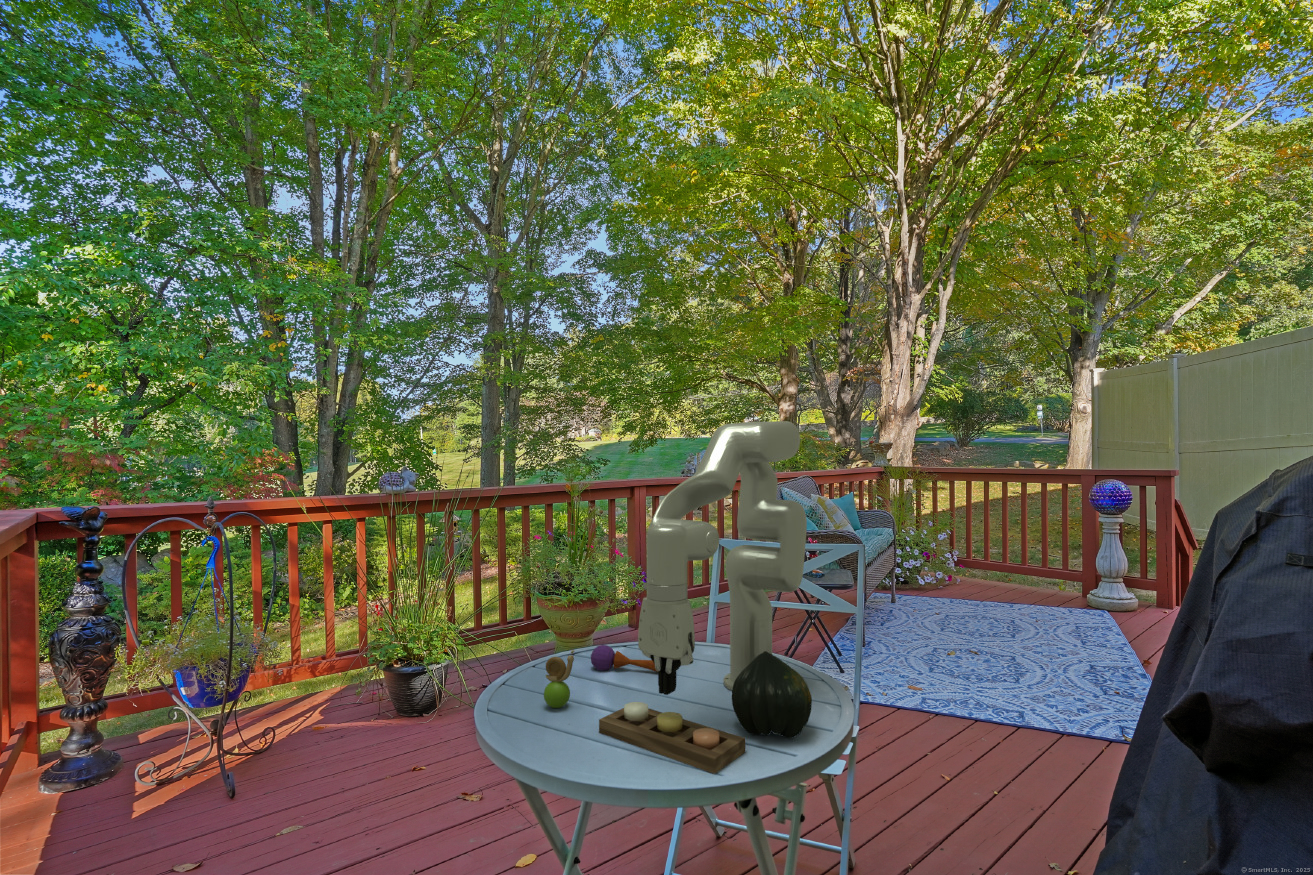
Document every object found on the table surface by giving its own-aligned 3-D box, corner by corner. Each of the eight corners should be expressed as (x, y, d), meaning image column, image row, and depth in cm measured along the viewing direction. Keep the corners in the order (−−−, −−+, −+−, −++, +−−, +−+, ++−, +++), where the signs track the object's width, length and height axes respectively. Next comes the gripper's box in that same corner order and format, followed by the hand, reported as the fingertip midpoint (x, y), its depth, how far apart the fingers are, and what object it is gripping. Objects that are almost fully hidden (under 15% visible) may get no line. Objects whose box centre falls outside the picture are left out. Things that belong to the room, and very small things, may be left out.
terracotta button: (702, 735, 119) (702, 725, 119) (724, 742, 117) (724, 732, 117) (687, 744, 116) (687, 734, 116) (709, 752, 113) (709, 741, 113)
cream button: (634, 709, 129) (634, 699, 129) (653, 714, 126) (653, 705, 126) (619, 716, 126) (619, 707, 126) (637, 722, 123) (637, 713, 123)
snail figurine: (569, 713, 134) (569, 654, 134) (539, 711, 135) (539, 652, 136) (578, 703, 139) (578, 646, 140) (549, 701, 141) (549, 644, 141)
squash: (795, 728, 114) (806, 647, 124) (714, 716, 121) (731, 640, 130) (812, 758, 123) (821, 680, 133) (736, 745, 130) (750, 672, 139)
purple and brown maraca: (669, 662, 155) (587, 650, 159) (668, 686, 156) (587, 673, 160) (674, 650, 160) (595, 638, 165) (673, 673, 161) (595, 661, 166)
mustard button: (667, 719, 124) (667, 709, 124) (687, 725, 121) (687, 715, 122) (652, 727, 121) (652, 717, 121) (672, 734, 118) (672, 724, 118)
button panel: (632, 715, 133) (632, 703, 133) (745, 752, 117) (745, 737, 117) (599, 732, 125) (599, 719, 125) (714, 773, 109) (714, 758, 109)
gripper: (622, 590, 123) (622, 689, 123) (690, 601, 114) (690, 707, 114) (646, 583, 129) (646, 678, 129) (712, 593, 121) (712, 694, 120)
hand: (667, 691), depth 122 cm, fingers closed
